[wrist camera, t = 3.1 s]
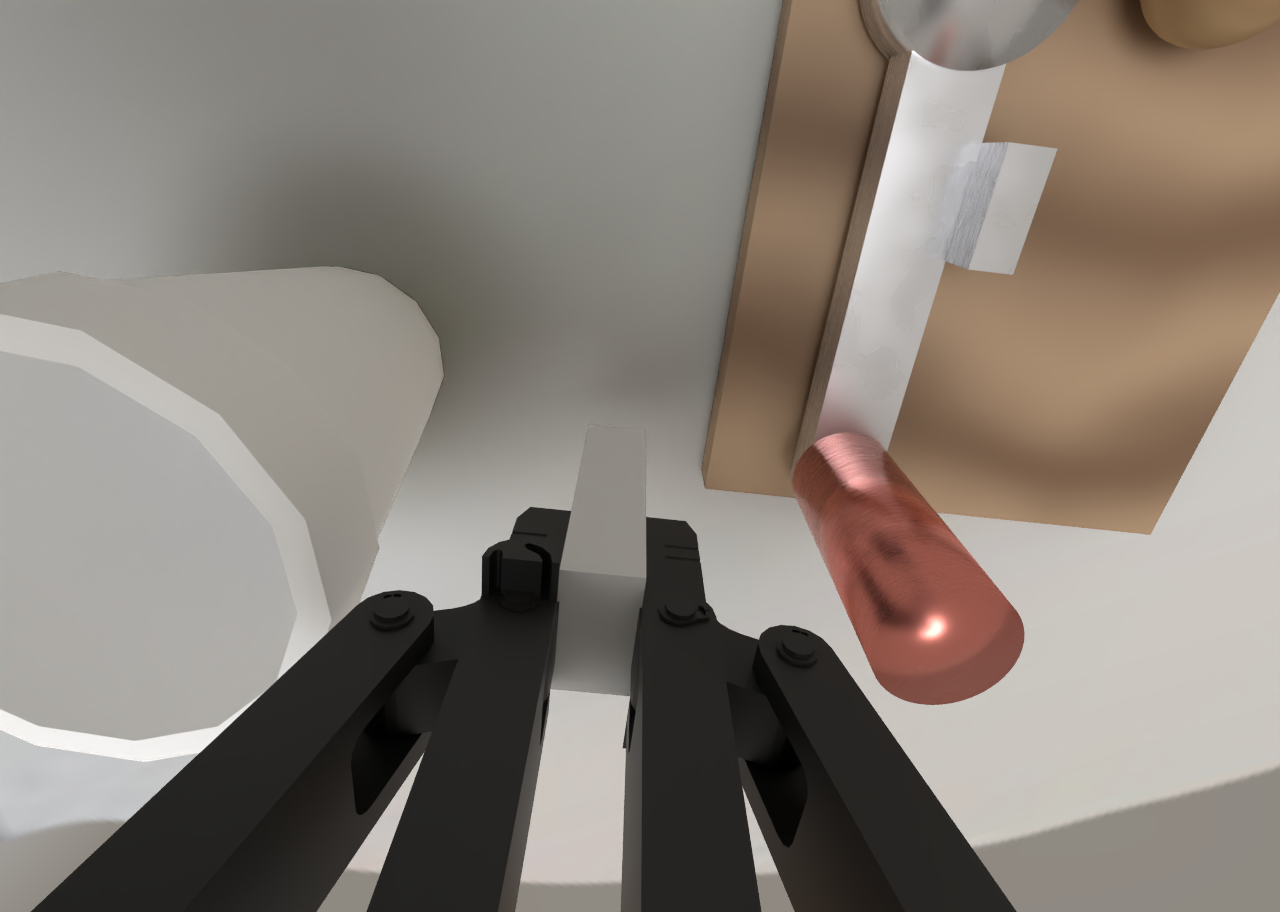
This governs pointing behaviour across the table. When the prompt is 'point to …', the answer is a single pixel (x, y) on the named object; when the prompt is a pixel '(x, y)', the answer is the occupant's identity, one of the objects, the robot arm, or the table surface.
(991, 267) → the lever
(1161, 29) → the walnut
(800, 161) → the board
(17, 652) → the foam cup
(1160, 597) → the table surface
